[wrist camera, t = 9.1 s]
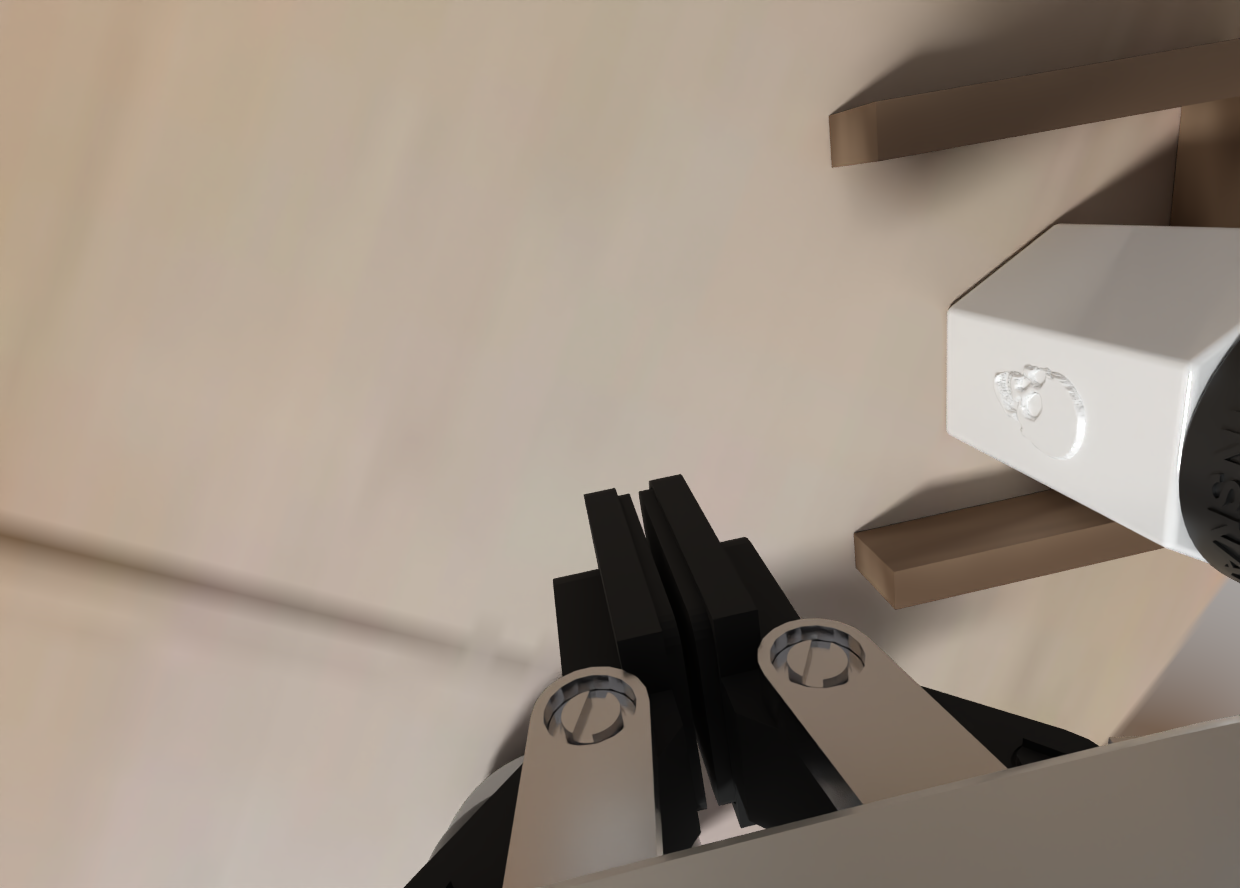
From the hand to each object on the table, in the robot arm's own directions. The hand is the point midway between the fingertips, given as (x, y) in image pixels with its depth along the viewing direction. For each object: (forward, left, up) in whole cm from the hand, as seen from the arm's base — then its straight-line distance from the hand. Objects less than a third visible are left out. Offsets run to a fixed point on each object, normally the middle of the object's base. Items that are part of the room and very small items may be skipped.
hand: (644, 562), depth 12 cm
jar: (+2, +17, -12) cm, 21 cm away
